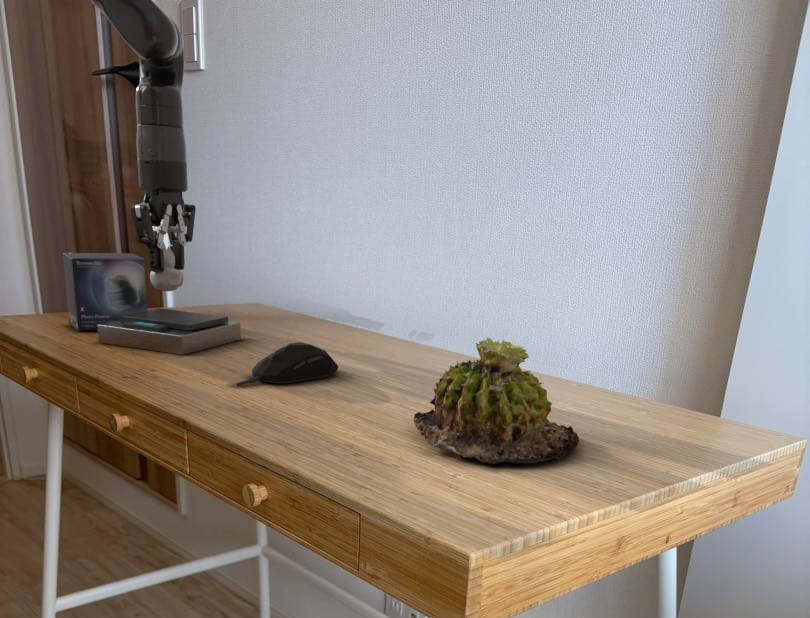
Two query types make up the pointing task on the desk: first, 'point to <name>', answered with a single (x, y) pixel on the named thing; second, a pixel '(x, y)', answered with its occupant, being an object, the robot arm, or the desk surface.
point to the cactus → (494, 411)
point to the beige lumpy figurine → (167, 273)
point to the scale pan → (175, 319)
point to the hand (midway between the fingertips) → (167, 270)
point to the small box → (103, 287)
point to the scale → (167, 336)
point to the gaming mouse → (293, 365)
